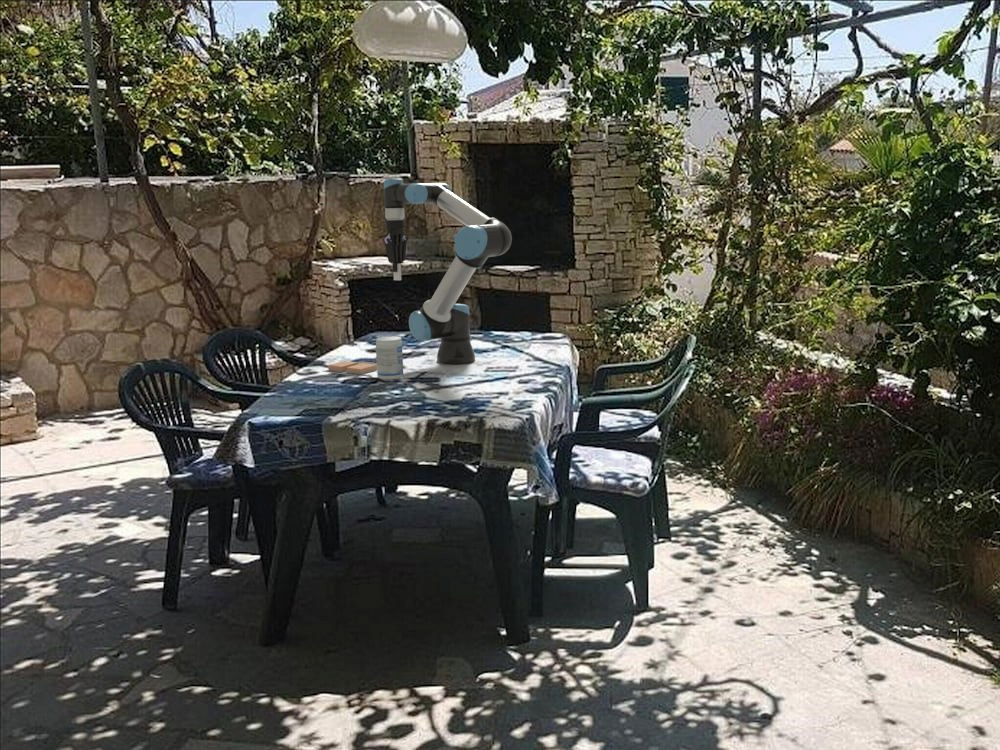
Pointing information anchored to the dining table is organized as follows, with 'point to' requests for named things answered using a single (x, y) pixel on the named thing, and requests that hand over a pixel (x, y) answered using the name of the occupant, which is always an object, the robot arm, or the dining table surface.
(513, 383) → the dining table surface
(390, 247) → the robot arm
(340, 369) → the tan flat block
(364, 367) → the tan rectangular block
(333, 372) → the mat
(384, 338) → the supplement tub
